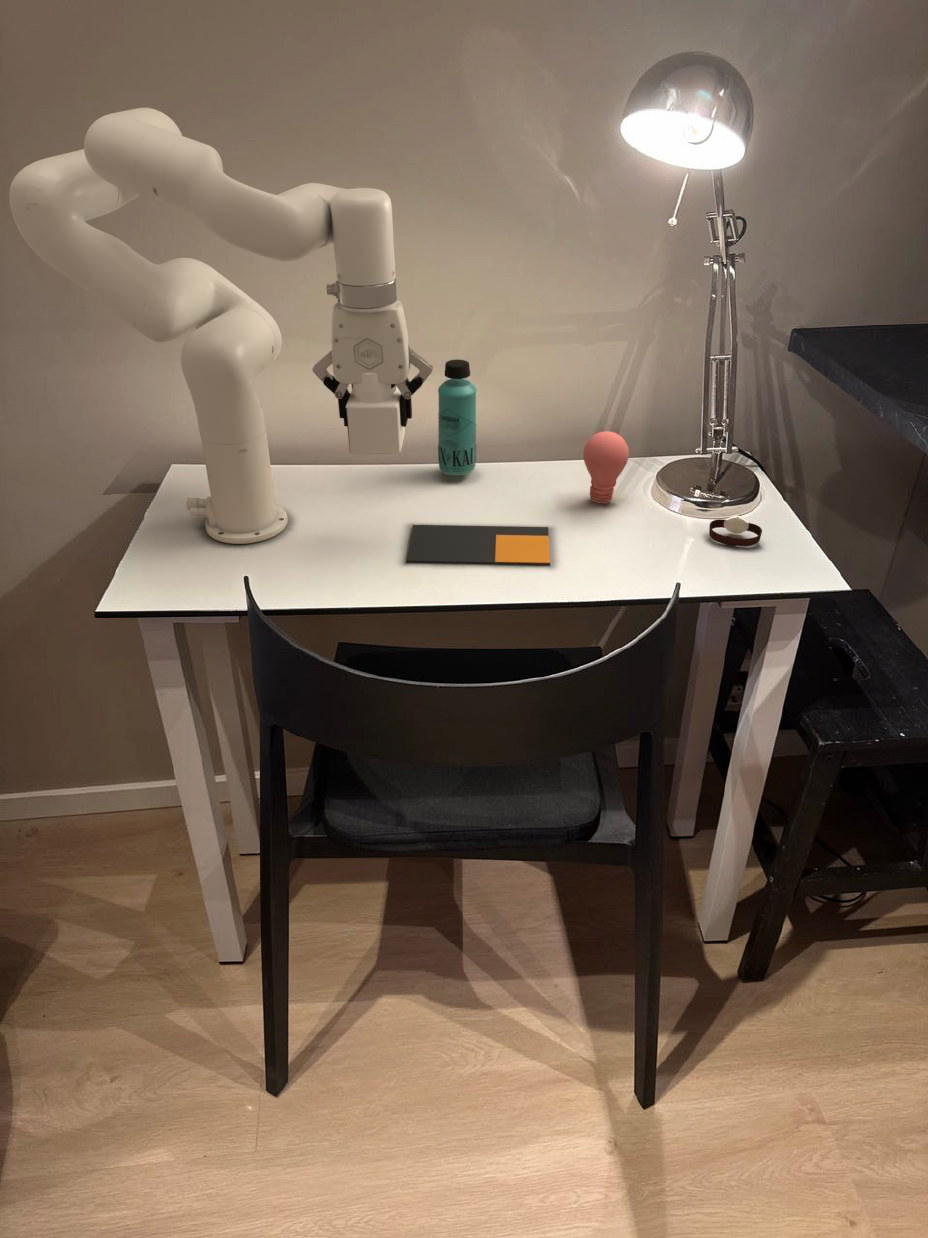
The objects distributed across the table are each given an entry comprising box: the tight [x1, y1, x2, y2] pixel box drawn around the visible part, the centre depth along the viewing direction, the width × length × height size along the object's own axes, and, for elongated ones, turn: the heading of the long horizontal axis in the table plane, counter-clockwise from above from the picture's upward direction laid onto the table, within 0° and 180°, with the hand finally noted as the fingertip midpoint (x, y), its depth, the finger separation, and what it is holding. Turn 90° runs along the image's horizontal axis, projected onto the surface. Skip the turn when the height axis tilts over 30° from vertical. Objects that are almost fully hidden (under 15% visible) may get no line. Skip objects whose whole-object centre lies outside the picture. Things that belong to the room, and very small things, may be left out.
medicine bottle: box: [346, 373, 406, 455], centre depth 132 cm, size 7×7×12 cm
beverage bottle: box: [437, 358, 478, 476], centre depth 158 cm, size 6×7×20 cm
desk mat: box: [405, 524, 551, 566], centre depth 144 cm, size 21×11×1 cm, turn 87°
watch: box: [708, 515, 763, 548], centre depth 144 cm, size 8×5×4 cm, turn 72°
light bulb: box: [582, 430, 630, 504], centre depth 152 cm, size 7×7×12 cm
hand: (376, 422), depth 133 cm, fingers closed on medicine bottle, 7 cm apart
